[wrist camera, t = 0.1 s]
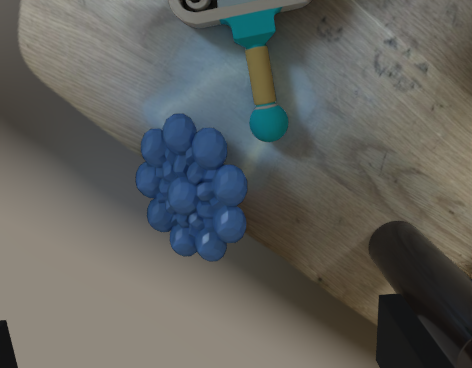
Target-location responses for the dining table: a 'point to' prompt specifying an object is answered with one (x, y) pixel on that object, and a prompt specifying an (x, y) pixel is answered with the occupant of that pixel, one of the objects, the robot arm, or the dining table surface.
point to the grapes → (192, 188)
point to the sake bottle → (427, 286)
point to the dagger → (249, 50)
